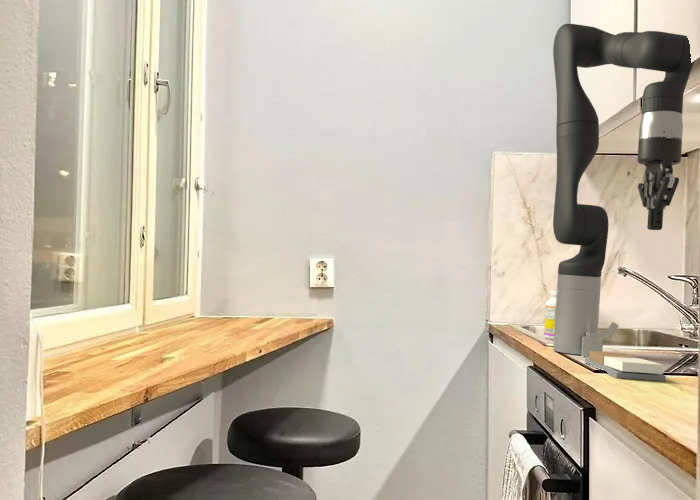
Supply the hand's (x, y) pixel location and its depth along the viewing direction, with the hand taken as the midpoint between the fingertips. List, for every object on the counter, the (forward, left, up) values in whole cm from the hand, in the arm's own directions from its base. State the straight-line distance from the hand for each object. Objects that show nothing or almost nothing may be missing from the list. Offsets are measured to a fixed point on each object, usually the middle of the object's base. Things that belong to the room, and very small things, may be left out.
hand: (654, 229), depth 130 cm
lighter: (-17, -3, -27) cm, 32 cm away
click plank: (+6, -5, -26) cm, 27 cm away
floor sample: (+1, -5, -27) cm, 28 cm away
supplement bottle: (-52, -2, -27) cm, 59 cm away
